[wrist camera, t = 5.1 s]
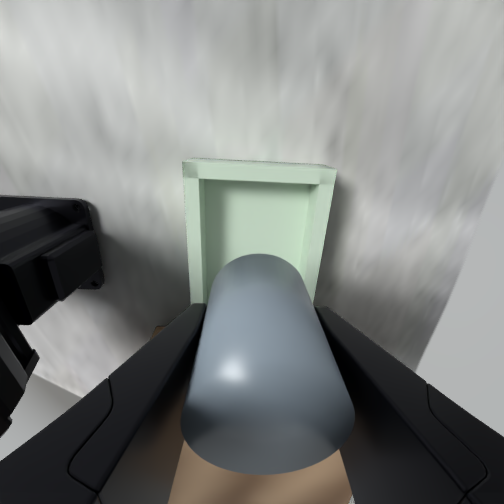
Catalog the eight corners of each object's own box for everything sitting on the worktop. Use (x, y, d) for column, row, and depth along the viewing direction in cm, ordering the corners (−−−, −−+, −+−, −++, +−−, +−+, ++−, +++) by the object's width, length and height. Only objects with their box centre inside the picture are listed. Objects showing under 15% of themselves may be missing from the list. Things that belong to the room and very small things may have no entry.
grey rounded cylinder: (211, 332, 10) (186, 474, 6) (209, 251, 8) (173, 362, 4) (299, 334, 10) (337, 475, 6) (311, 255, 8) (373, 365, 4)
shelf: (167, 407, 24) (137, 507, 18) (156, 326, 20) (112, 417, 14) (319, 410, 25) (346, 509, 18) (339, 331, 21) (381, 421, 14)
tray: (199, 317, 20) (193, 341, 18) (192, 157, 15) (182, 161, 13) (299, 320, 20) (305, 344, 18) (323, 164, 15) (337, 169, 13)
